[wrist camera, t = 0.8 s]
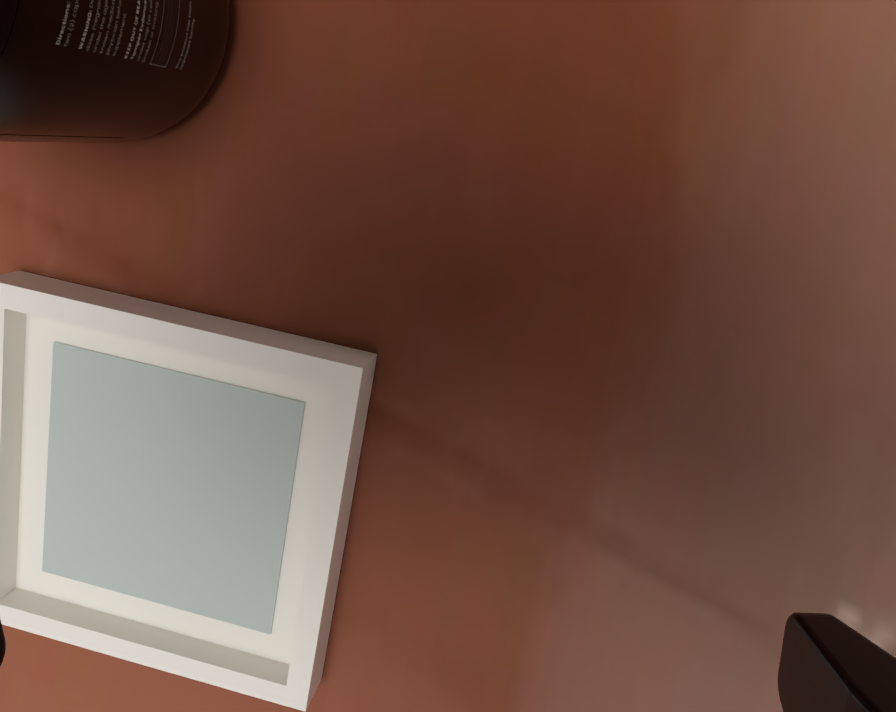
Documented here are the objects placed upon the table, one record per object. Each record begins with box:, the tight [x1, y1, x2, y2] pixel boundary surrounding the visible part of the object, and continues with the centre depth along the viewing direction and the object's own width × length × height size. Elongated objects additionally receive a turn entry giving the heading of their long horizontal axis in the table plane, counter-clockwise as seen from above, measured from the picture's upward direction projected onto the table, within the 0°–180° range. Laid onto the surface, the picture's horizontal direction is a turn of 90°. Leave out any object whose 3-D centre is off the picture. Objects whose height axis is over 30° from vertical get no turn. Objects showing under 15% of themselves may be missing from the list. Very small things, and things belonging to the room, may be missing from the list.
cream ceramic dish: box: [0, 271, 377, 712], centre depth 23 cm, size 11×11×2 cm
